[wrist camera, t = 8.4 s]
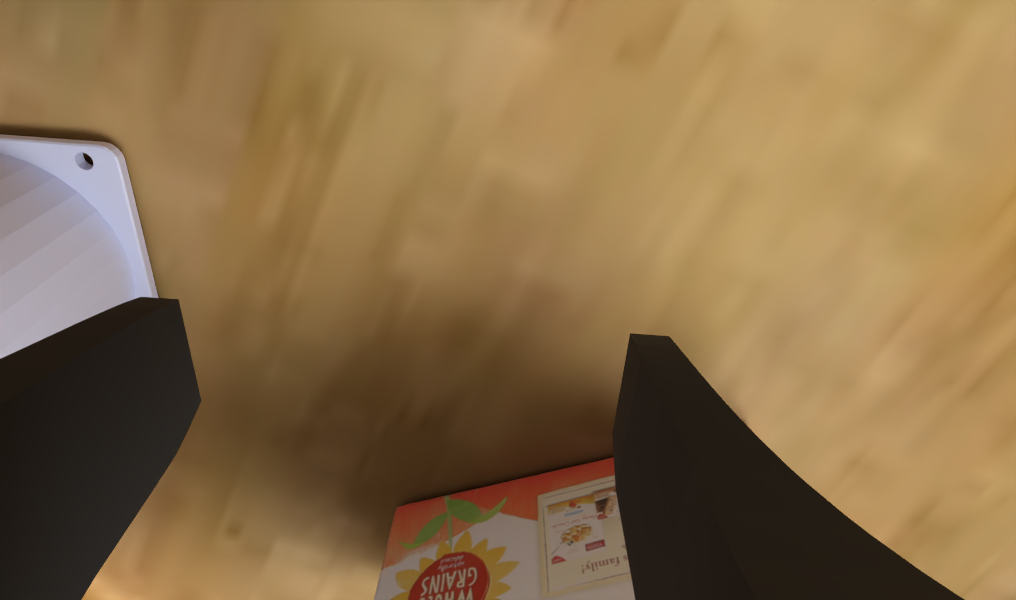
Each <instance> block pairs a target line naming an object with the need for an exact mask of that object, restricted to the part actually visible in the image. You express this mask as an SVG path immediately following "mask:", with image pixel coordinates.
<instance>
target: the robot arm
mask: <svg viewBox="0 0 1016 600" xmlns="http://www.w3.org/2000/svg"><path fill="white" fill-rule="evenodd" d="M83 153H86V154H88V155H89V156H90V157H91V158H92V160H93V165H91V164H89V163H88V162H87V161H85V159H84V157H83ZM200 402H201V398H200V393H199V389H198V384H197V380H196V375H195V371H194V366H193V362H192V358H191V353H190V349H189V344H188V340H187V335H186V331H185V326H184V322H183V317H182V313H181V309H180V304H179V300H178V299H164V298H158V294H157V290H156V286H155V281H154V277H153V273H152V269H151V265H150V261H149V257H148V252H147V248H146V244H145V240H144V236H143V232H142V228H141V224H140V219H139V215H138V211H137V207H136V203H135V199H134V195H133V190H132V186H131V182H130V178H129V174H128V170H127V166H126V161H125V158H124V156H123V154H122V152H121V151H120V150H119V149H118V148H117V147H115V146H114V145H112V144H111V143H107V142H100V141H86V140H72V139H58V138H44V137H30V136H16V135H2V134H0V600H81V599H82V598H83V596H84V594H85V593H86V591H87V589H88V588H89V586H90V584H91V583H92V581H93V580H94V578H95V576H96V575H97V573H98V572H99V570H100V569H101V567H102V566H103V564H104V563H105V561H106V560H107V558H108V557H109V555H110V554H111V552H112V551H113V549H114V548H115V546H116V545H117V543H118V542H119V540H120V539H121V537H122V536H123V534H124V533H125V531H126V530H127V528H128V527H129V525H130V524H131V522H132V521H133V519H134V518H135V516H136V515H137V513H138V512H139V510H140V509H141V507H142V506H143V504H144V503H145V501H146V500H147V498H148V497H149V495H150V494H151V492H152V491H153V489H154V488H155V486H156V485H157V483H158V482H159V480H160V478H161V477H162V475H163V474H164V472H165V471H166V469H167V468H168V466H169V465H170V463H171V461H172V460H173V458H174V457H175V455H176V453H177V451H178V449H179V447H180V445H181V443H182V441H183V439H184V437H185V435H186V433H187V431H188V429H189V427H190V425H191V422H192V420H193V418H194V416H195V413H196V411H197V409H198V407H199V404H200ZM613 450H614V470H615V487H616V494H617V500H618V506H619V512H620V517H621V523H622V529H623V534H624V540H625V545H626V551H627V556H628V562H629V567H630V573H631V578H632V584H633V590H634V595H635V600H964V599H963V598H961V597H959V596H958V595H956V594H955V593H953V592H952V591H950V590H949V589H947V588H946V587H944V586H943V585H941V584H940V583H938V582H937V581H935V580H934V579H932V578H931V577H929V576H928V575H926V574H925V573H923V572H922V571H920V570H919V569H917V568H916V567H915V566H913V565H912V564H910V563H909V562H908V561H906V560H905V559H903V558H902V557H901V556H899V555H898V554H896V553H895V552H894V551H892V550H891V549H890V548H888V547H887V546H885V545H884V544H883V543H881V542H880V541H878V540H877V539H876V538H874V537H873V536H871V535H870V534H869V533H867V532H866V531H865V530H864V529H862V528H861V527H860V526H858V525H857V524H856V523H854V522H853V521H852V520H851V519H849V518H848V517H847V516H845V515H844V514H843V513H842V512H841V511H839V510H838V509H837V508H836V507H835V506H833V505H832V504H831V503H830V502H829V501H827V500H826V499H825V498H824V497H823V496H821V495H820V494H819V493H818V492H817V491H815V490H814V489H813V488H812V487H811V486H809V485H808V484H807V483H806V482H805V481H804V480H803V479H801V478H800V477H799V476H798V475H797V474H796V473H795V472H794V471H793V470H791V469H790V468H789V467H788V466H787V465H786V464H785V463H784V462H783V461H782V460H781V459H780V458H779V457H778V456H777V455H776V454H775V453H774V452H773V451H772V450H771V449H770V448H768V447H767V446H766V445H765V444H764V443H763V442H762V441H761V440H760V439H759V438H758V437H757V436H756V435H755V434H754V433H753V432H752V431H751V430H750V429H749V427H748V426H747V425H746V424H745V423H744V422H743V421H742V420H741V419H740V418H739V417H738V416H737V415H736V414H735V413H734V412H733V410H732V409H731V408H730V407H729V406H728V405H727V404H726V403H725V402H724V401H723V399H722V398H721V397H720V396H719V395H718V394H717V393H716V391H715V390H714V389H713V388H712V387H711V386H710V385H709V383H708V382H707V381H706V380H705V379H704V377H703V376H702V375H701V374H700V373H699V372H698V370H697V369H696V368H695V367H694V366H693V364H692V363H691V362H690V361H689V360H688V358H687V357H686V356H685V355H684V353H683V352H682V351H681V350H680V349H679V347H678V346H677V345H676V344H675V343H674V342H673V340H672V339H671V338H670V337H669V336H656V335H643V334H630V338H629V344H628V349H627V355H626V361H625V366H624V372H623V378H622V383H621V389H620V394H619V400H618V406H617V411H616V417H615V423H614V428H613Z"/></svg>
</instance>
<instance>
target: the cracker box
mask: <svg viewBox="0 0 1016 600" xmlns="http://www.w3.org/2000/svg"><path fill="white" fill-rule="evenodd" d="M749 429H750V428H749ZM750 430H751V429H750ZM751 431H752V430H751ZM374 600H635V595H634V590H633V584H632V578H631V573H630V567H629V562H628V556H627V551H626V545H625V540H624V534H623V529H622V523H621V517H620V512H619V506H618V500H617V494H616V487H615V470H614V457H612V458H608V459H605V460H601V461H596V462H591V463H587V464H583V465H578V466H574V467H569V468H564V469H560V470H557V471H551V472H547V473H543V474H539V475H535V476H530V477H526V478H521V479H516V480H512V481H508V482H504V483H499V484H495V485H491V486H487V487H482V488H477V489H473V490H468V491H463V492H459V493H455V494H451V495H447V496H442V497H437V498H433V499H428V500H424V501H420V502H415V503H410V504H406V505H404V506H399V507H397V508H396V511H395V515H394V519H393V522H392V527H391V531H390V535H389V539H388V543H387V547H386V552H385V556H384V560H383V564H382V568H381V572H380V576H379V581H378V585H377V589H376V593H375V598H374Z"/></svg>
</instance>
